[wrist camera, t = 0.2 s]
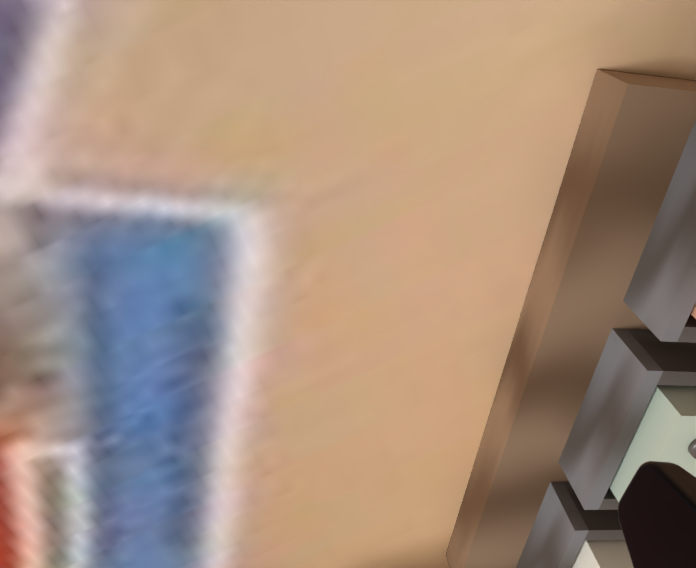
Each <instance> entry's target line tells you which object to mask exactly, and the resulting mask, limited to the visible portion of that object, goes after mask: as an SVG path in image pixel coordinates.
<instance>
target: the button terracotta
mask: <svg viewBox="0 0 696 568" xmlns="http://www.w3.org/2000/svg"><path fill="white" fill-rule="evenodd" d="M690 314H691V315H692V316H693V317H694V318H695V319H696V303H695V305H694V307H693V309H692V311H691V313H690Z"/></svg>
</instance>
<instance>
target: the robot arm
mask: <svg viewBox="0 0 696 568" xmlns="http://www.w3.org/2000/svg"><path fill="white" fill-rule="evenodd" d="M618 519H619V523H620V526H621V529H622V532H623V535H624V539H625V542H626V545H627V548H628V551H629V554H630V558H631V561H632V564H633V567H634V568H696V477H695V476H693V475H692V474H690V473H689V472H688V471H686V470H685V469H683V468H682V467H680V466H679V465H677V464H674V463H670V462H657V461H648V462H645V463H643V464H642V465H640V467H639V468H638V470H637V471H636V473H635V475H634V476H633V478H632V480H631V482H630V483H629V485H628V487H627V488H626V490H625V492H624V494H623V495H622V497H621V499H620V501H619V504H618Z"/></svg>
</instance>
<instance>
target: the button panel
mask: <svg viewBox="0 0 696 568" xmlns="http://www.w3.org/2000/svg"><path fill="white" fill-rule="evenodd" d="M695 303H696V81H693V80H685V79H676V78H667V77H659V76H650V75H642V74H633V73H624V72H616V71H607V70H599V69H597V72H596V75H595V78H594V81H593V85H592V88H591V91H590V94H589V97H588V101H587V104H586V107H585V110H584V114H583V117H582V120H581V123H580V126H579V130H578V133H577V136H576V139H575V142H574V146H573V149H572V152H571V155H570V158H569V162H568V165H567V168H566V171H565V174H564V178H563V181H562V184H561V187H560V190H559V194H558V197H557V200H556V203H555V206H554V210H553V213H552V216H551V219H550V223H549V226H548V229H547V232H546V235H545V239H544V242H543V245H542V248H541V251H540V255H539V258H538V261H537V264H536V267H535V271H534V274H533V277H532V280H531V283H530V287H529V290H528V293H527V296H526V299H525V303H524V306H523V309H522V312H521V315H520V319H519V322H518V325H517V328H516V331H515V335H514V338H513V341H512V344H511V348H510V351H509V354H508V357H507V360H506V364H505V367H504V370H503V373H502V376H501V380H500V383H499V386H498V389H497V392H496V396H495V399H494V402H493V405H492V408H491V412H490V415H489V418H488V421H487V424H486V428H485V431H484V434H483V437H482V440H481V444H480V447H479V450H478V453H477V457H476V460H475V463H474V466H473V469H472V473H471V476H470V479H469V482H468V485H467V489H466V492H465V495H464V498H463V501H462V505H461V508H460V511H459V514H458V517H457V521H456V524H455V527H454V530H453V533H452V537H451V540H450V543H449V546H448V549H447V553H446V557H447V560H448V564H449V567H450V568H571V567H572V565H573V563H574V561H575V559H576V557H577V555H578V552H579V550H580V548H581V546H582V544H583V542H584V540H625V539H624V535H623V532H622V529H621V526H620V523H619V519H618V504H619V502H618V501H617V499H616V497H615V496H614V494H613V492H612V491H611V489H610V487H609V486H610V484H611V482H612V480H613V478H614V476H615V473H616V471H617V469H618V467H619V465H620V463H621V461H622V458H623V456H624V454H625V452H626V450H627V448H628V446H629V444H630V441H631V439H632V437H633V435H634V433H635V431H636V429H637V426H638V424H639V422H640V420H641V418H642V416H643V414H644V412H645V409H646V407H647V405H648V403H649V401H650V399H651V397H652V394H653V392H654V390H655V388H656V386H657V385H673V386H696V319H695V318H694V317H693V316H692V315H691V314H690V313H691V311H692V309H693V307H694V305H695Z"/></svg>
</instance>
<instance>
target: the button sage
mask: <svg viewBox="0 0 696 568" xmlns="http://www.w3.org/2000/svg"><path fill="white" fill-rule="evenodd" d="M648 461H657V462H670V463H674V464H677V465H679V466H680V467H682V468H683V469H685V470H686V471H688V472H689V473H690V474H692V475H693V476H695V477H696V386H673V385H657V386H656V388H655V390H654V392H653V394H652V397H651V399H650V401H649V403H648V405H647V407H646V409H645V412H644V414H643V416H642V418H641V420H640V422H639V424H638V426H637V429H636V431H635V433H634V435H633V437H632V439H631V441H630V444H629V446H628V448H627V450H626V452H625V454H624V456H623V458H622V461H621V463H620V465H619V467H618V469H617V471H616V473H615V476H614V478H613V480H612V482H611V484H610V486H609V487H610V489H611V491H612V492H613V494H614V496H615V497H616V499H617V501H618V502H619V501H620V499H621V497H622V495H623V494H624V492H625V490H626V488H627V487H628V485H629V483H630V482H631V480H632V478H633V476H634V475H635V473H636V471H637V470H638V468H639V467H640V465H642V464H643V463H645V462H648Z"/></svg>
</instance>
